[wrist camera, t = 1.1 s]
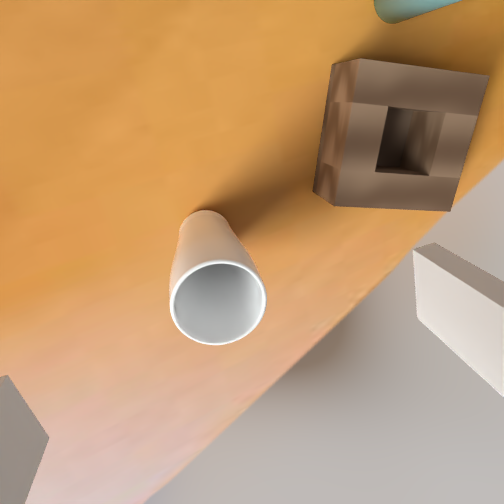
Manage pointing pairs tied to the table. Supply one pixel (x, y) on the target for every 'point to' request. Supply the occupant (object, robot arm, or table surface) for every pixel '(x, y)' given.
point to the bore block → (396, 135)
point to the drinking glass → (214, 282)
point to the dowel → (406, 8)
